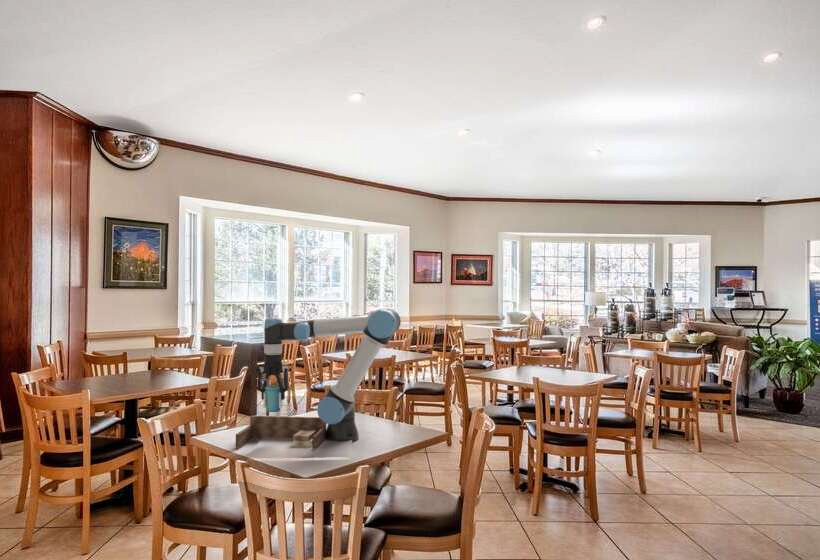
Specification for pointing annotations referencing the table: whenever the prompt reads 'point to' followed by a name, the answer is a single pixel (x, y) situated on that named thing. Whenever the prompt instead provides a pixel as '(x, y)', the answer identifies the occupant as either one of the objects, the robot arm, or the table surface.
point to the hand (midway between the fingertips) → (273, 407)
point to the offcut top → (304, 435)
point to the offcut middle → (303, 443)
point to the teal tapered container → (272, 396)
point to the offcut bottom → (300, 446)
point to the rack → (281, 428)
